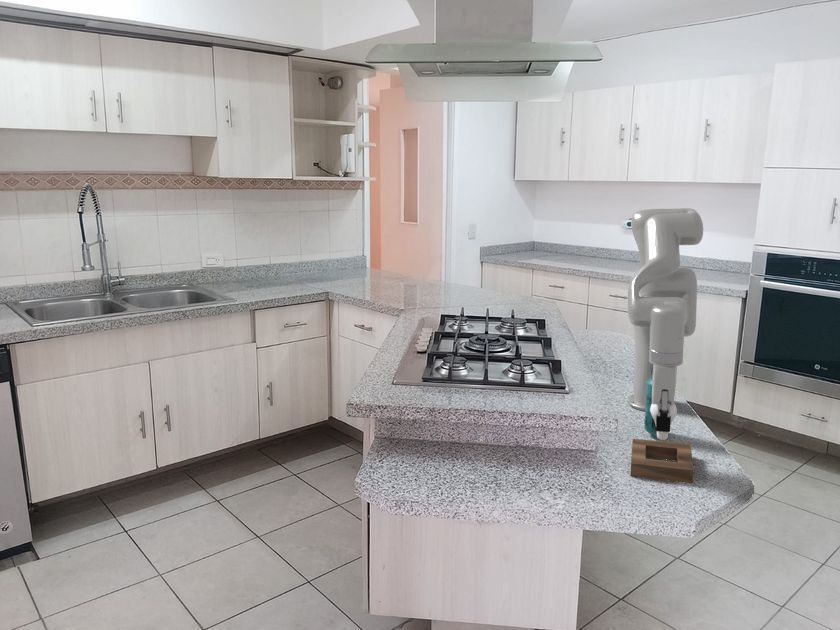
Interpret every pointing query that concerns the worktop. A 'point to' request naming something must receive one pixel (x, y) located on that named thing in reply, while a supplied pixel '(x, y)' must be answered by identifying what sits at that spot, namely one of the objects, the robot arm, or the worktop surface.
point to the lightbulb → (655, 412)
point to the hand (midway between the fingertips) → (662, 424)
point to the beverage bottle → (649, 420)
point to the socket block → (659, 468)
